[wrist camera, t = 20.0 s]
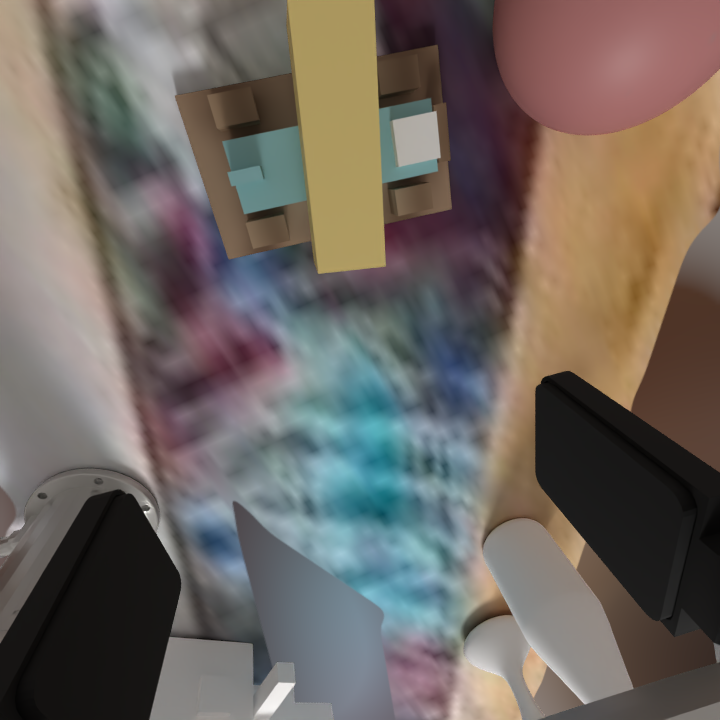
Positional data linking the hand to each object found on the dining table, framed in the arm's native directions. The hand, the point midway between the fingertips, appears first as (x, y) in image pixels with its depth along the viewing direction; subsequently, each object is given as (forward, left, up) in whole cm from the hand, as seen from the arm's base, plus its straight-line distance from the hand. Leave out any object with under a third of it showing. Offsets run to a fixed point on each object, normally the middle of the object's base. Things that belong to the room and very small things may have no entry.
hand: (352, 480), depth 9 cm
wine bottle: (+19, -45, -31) cm, 58 cm away
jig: (+4, +7, -30) cm, 31 cm away
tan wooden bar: (+4, +7, -23) cm, 25 cm away
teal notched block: (+4, +7, -29) cm, 30 cm away
